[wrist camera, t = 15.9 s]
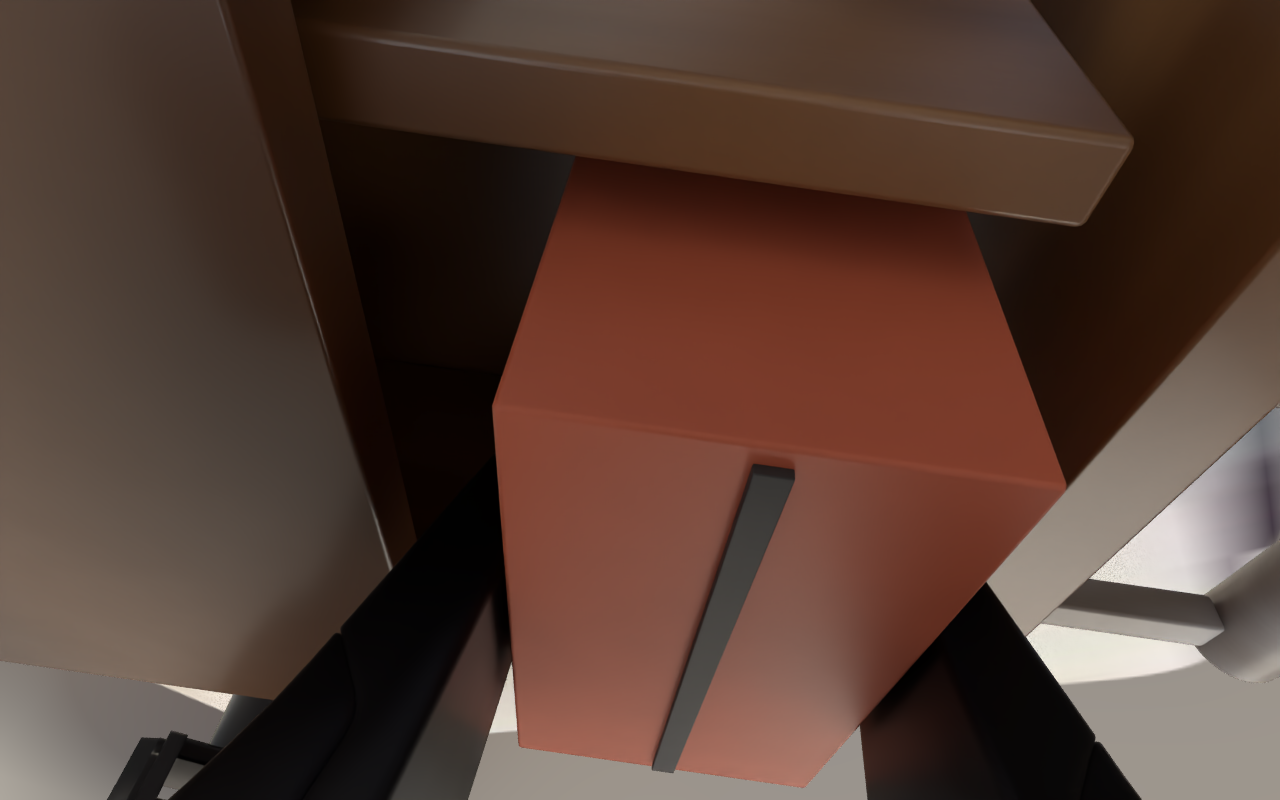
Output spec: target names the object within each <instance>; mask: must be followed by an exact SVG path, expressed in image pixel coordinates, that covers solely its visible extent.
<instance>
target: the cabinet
mask: <svg viewBox="0 0 1280 800" xmlns="http://www.w3.org/2000/svg"><path fill="white" fill-rule="evenodd" d="M416 541H417V538H416V534H415V530H414V525H413V521H412V517H411V513H410V508H409V504H408V500H407V496H406V491H405V487H404V483H403V479H402V474H401V470H400V466H399V461H398V457H397V453H396V449H395V444H394V440H393V436H392V432H391V427H390V423H389V419H388V414H387V410H386V406H385V402H384V397H383V393H382V389H381V385H380V380H379V376H378V372H377V367H376V363H375V359H374V355H373V350H372V346H371V342H370V338H369V333H368V329H367V325H366V320H365V316H364V312H363V308H362V303H361V299H360V295H359V291H358V286H357V282H356V278H355V273H354V269H353V265H352V261H351V256H350V252H349V248H348V244H347V239H346V235H345V231H344V226H343V222H342V218H341V214H340V209H339V205H338V201H337V197H336V192H335V188H334V184H333V179H332V175H331V171H330V167H329V162H328V158H327V154H326V150H325V145H324V141H323V137H322V132H321V128H320V124H319V120H318V115H317V111H316V107H315V103H314V98H313V94H312V90H311V85H310V81H309V77H308V73H307V68H306V64H305V60H304V56H303V51H302V47H301V43H300V38H299V34H298V30H297V26H296V21H295V17H294V13H293V9H292V4H291V0H0V661H5V662H12V663H19V664H26V665H33V666H40V667H47V668H54V669H61V670H68V671H75V672H82V673H89V674H96V675H102V676H109V677H117V678H123V679H130V680H137V681H145V682H151V683H158V684H165V685H172V686H179V687H186V688H193V689H200V690H207V691H214V692H221V693H228V694H235V695H242V696H249V697H256V698H263V699H270V700H274V699H275V698H276V697H277V696H278V695H279V694H280V693H281V691H282V690H283V689H284V688H285V687H286V686H287V685H288V684H289V683H290V682H291V681H292V680H293V679H294V678H295V676H296V675H297V674H298V673H299V672H300V671H301V670H302V669H303V668H304V667H305V666H306V665H307V664H308V663H309V662H310V660H311V659H312V658H313V657H314V656H315V655H316V654H317V653H318V651H319V650H320V649H321V648H322V647H323V646H324V645H325V643H326V642H327V641H328V640H329V639H330V638H331V637H332V636H333V634H335V633H340V634H341V632H340V628H341V626H342V625H343V624H344V622H345V621H346V620H347V619H348V618H349V617H350V616H351V615H352V613H353V612H354V611H355V610H356V609H357V608H358V607H359V606H360V604H361V603H362V602H363V601H364V600H365V599H366V598H367V596H368V595H369V594H370V593H371V592H372V591H373V590H374V589H375V587H376V586H377V585H378V584H379V583H380V582H381V581H382V580H383V578H384V577H385V576H386V575H387V574H388V573H389V572H390V571H391V569H392V568H393V567H394V566H395V565H396V564H397V563H398V562H399V560H400V559H401V558H402V557H403V556H404V555H405V554H406V552H407V551H408V550H409V549H410V548H411V547H412V546H413V545H414V543H415V542H416Z"/></svg>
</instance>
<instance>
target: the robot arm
mask: <svg viewBox="0 0 1280 800" xmlns="http://www.w3.org/2000/svg"><path fill="white" fill-rule="evenodd" d="M340 632H341V634H340V633H335V634H333V636H332V637H331V638H330V639H329V640H328V641H327V642H326V643H325V645H324V646H323V647H322V648H321V649H320V650H319V651H318V653H317V654H316V655H315V656H314V657H313V658H312V659H311V660H310V662H309V663H308V664H307V665H306V666H305V667H304V668H303V669H302V670H301V671H300V672H299V673H298V674H297V675H296V676H295V678H294V679H293V680H292V681H291V682H290V683H289V684H288V685H287V686H286V687H285V688H284V689H283V690H282V691H281V693H280V694H279V695H278V696H277V697H276V698H275V699H274V700H270V699H263V698H256V697H249V696H242V695H235V694H233V695H232V698H231V700H230V702H229V704H228V706H227V708H226V710H225V712H224V714H223V716H222V718H221V720H220V723H219V724H218V726H217V729H216V731H215V733H214V735H213V737H212V739H211V741H210V743H209V744H208V743H204V742H200V741H196V740H193V739H189V738H187V736H188V735H186V734H183V733H179V732H176V731H171V732H170V734H169V736H168V738H167V739H164V738H141V739H140V741H139V743H138V745H137V747H136V748H135V750H134V752H133V754H132V756H131V757H130V760H129V761H128V763H127V765H126V767H125V768H124V770H123V772H122V774H121V776H120V777H119V779H118V781H117V783H116V785H115V786H114V788H113V790H112V792H111V794H110V795H109V797H108V799H107V800H164V799H160V798H157V797H158V795H159V792H160V791H161V788H162V786H164V787H169V788H172V789H177V790H178V791H177V792H176V793H175V794H174V795H173V796H172V797H170V798H169V799H168V800H468V797H469V795H470V791H471V788H472V785H473V781H474V779H475V775H476V772H477V769H478V766H479V763H480V760H481V757H482V753H483V750H484V747H485V744H486V741H487V737H488V735H489V731H490V728H491V725H492V722H493V719H494V716H495V713H496V709H497V706H498V703H499V700H500V697H501V694H502V690H503V687H504V684H505V681H506V678H507V675H508V672H509V668H510V665H511V662H512V655H511V642H510V629H509V616H508V604H507V591H506V578H505V565H504V553H503V540H502V527H501V515H500V502H499V489H498V476H497V464H496V452H495V453H494V454H493V455H492V457H491V458H490V459H489V460H488V461H487V462H486V463H485V464H484V466H483V467H482V468H481V469H480V470H479V471H478V472H477V473H476V475H475V476H474V477H473V478H472V479H471V480H470V481H469V482H468V484H467V485H466V486H465V487H464V488H463V489H462V490H461V492H460V493H459V494H458V495H457V496H456V497H455V498H454V499H453V501H452V502H451V503H450V504H449V505H448V506H447V507H446V508H445V510H444V511H443V512H442V513H441V514H440V515H439V516H438V517H437V519H436V520H435V521H434V522H433V523H432V524H431V525H430V527H429V528H428V529H427V530H426V531H425V532H424V533H423V534H422V536H421V537H420V538H419V539H418V540H417V541H416V542H415V543H414V545H413V546H412V547H411V548H410V549H409V550H408V551H407V552H406V554H405V555H404V556H403V557H402V558H401V559H400V560H399V562H398V563H397V564H396V565H395V566H394V567H393V568H392V569H391V571H390V572H389V573H388V574H387V575H386V576H385V577H384V578H383V580H382V581H381V582H380V583H379V584H378V585H377V586H376V587H375V589H374V590H373V591H372V592H371V593H370V594H369V595H368V596H367V598H366V599H365V600H364V601H363V602H362V603H361V604H360V606H359V607H358V608H357V609H356V610H355V611H354V612H353V613H352V615H351V616H350V617H349V618H348V619H347V620H346V621H345V622H344V624H343V625H342V626H341V628H340ZM860 732H861V741H862V751H863V760H864V770H865V779H866V789H867V799H868V800H1141V798H1140V796H1139V795H1138V794H1137V792H1136V791H1135V790H1134V788H1133V787H1132V786H1131V784H1130V783H1129V782H1128V780H1127V779H1126V778H1125V776H1124V775H1123V773H1122V772H1121V771H1120V769H1119V768H1118V766H1117V765H1116V763H1115V762H1114V761H1113V759H1112V758H1111V756H1110V755H1109V754H1108V752H1107V751H1106V749H1105V748H1104V747H1103V745H1102V744H1101V743H1100V742H1095V734H1094V733H1093V732H1092V730H1091V729H1090V727H1089V726H1088V725H1087V723H1086V722H1085V720H1084V719H1083V717H1082V716H1081V714H1080V713H1079V712H1078V710H1077V709H1076V707H1075V706H1074V705H1073V703H1072V702H1071V700H1070V699H1069V698H1068V696H1067V695H1066V693H1065V692H1064V691H1063V689H1062V688H1061V686H1060V685H1059V683H1058V682H1057V681H1056V679H1055V678H1054V676H1053V675H1052V673H1051V672H1050V671H1049V669H1048V668H1047V666H1046V665H1045V664H1044V662H1043V661H1042V659H1041V658H1040V657H1039V655H1038V654H1037V652H1036V651H1035V649H1034V648H1033V647H1032V645H1031V644H1030V642H1029V641H1028V640H1027V638H1026V637H1025V635H1024V634H1023V633H1022V631H1021V630H1020V628H1019V627H1018V625H1017V624H1016V623H1015V621H1014V620H1013V618H1012V617H1011V616H1010V614H1009V613H1008V611H1007V610H1006V609H1005V607H1004V606H1003V604H1002V603H1001V601H1000V600H999V599H998V597H997V596H996V594H995V593H994V592H993V590H992V589H991V587H990V586H989V584H988V583H987V582H985V584H984V585H983V586H982V587H981V588H980V589H979V590H978V591H977V593H976V594H975V595H974V596H973V597H972V598H971V599H970V601H969V602H968V603H967V604H966V605H965V606H964V607H963V608H962V610H961V611H960V612H959V613H958V614H957V615H956V616H955V618H954V619H953V620H952V621H951V622H950V623H949V624H948V626H947V627H946V628H945V629H944V630H943V631H942V632H941V633H940V635H939V636H938V637H937V638H936V639H935V640H934V641H933V643H932V644H931V645H930V646H929V647H928V648H927V649H926V651H925V652H924V653H923V654H922V655H921V656H920V657H919V658H918V660H917V661H916V662H915V663H914V664H913V665H912V666H911V668H910V669H909V670H908V671H907V672H906V673H905V674H904V675H903V677H902V678H901V679H900V680H899V681H898V682H897V683H896V685H895V686H894V687H893V688H892V689H891V690H890V691H889V693H888V694H887V695H886V696H885V697H884V698H883V699H882V700H881V702H880V703H879V704H878V705H877V706H876V707H875V708H874V710H873V711H872V712H871V713H870V714H869V715H868V716H867V718H866V719H865V720H864V721H863V722H862V723H861V724H860Z"/></svg>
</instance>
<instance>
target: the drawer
mask: <svg viewBox="0 0 1280 800" xmlns="http://www.w3.org/2000/svg"><path fill="white" fill-rule="evenodd" d="M291 4H292V9H293V13H294V17H295V21H296V26H297V30H298V34H299V38H300V43H301V47H302V51H303V56H304V60H305V64H306V68H307V73H308V77H309V81H310V85H311V90H312V94H313V98H314V103H315V107H316V111H317V115H318V120H319V124H320V128H321V132H322V137H323V141H324V145H325V150H326V154H327V158H328V162H329V167H330V171H331V175H332V179H333V184H334V188H335V192H336V197H337V201H338V205H339V209H340V214H341V218H342V222H343V226H344V231H345V235H346V239H347V244H348V248H349V252H350V256H351V261H352V265H353V269H354V273H355V278H356V282H357V286H358V291H359V295H360V299H361V303H362V308H363V312H364V316H365V320H366V325H367V329H368V333H369V338H370V342H371V346H372V350H373V355H374V359H375V363H376V367H377V372H378V376H379V380H380V385H381V389H382V393H383V397H384V402H385V406H386V410H387V414H388V419H389V423H390V427H391V432H392V436H393V440H394V444H395V449H396V453H397V457H398V461H399V466H400V470H401V474H402V479H403V483H404V487H405V491H406V496H407V500H408V504H409V508H410V513H411V517H412V521H413V525H414V530H415V534H416V538H417V540H418V539H419V538H420V537H421V536H422V534H423V533H424V532H425V531H426V530H427V529H428V528H429V527H430V525H431V524H432V523H433V522H434V521H435V520H436V519H437V517H438V516H439V515H440V514H441V513H442V512H443V511H444V510H445V508H446V507H447V506H448V505H449V504H450V503H451V502H452V501H453V499H454V498H455V497H456V496H457V495H458V494H459V493H460V492H461V490H462V489H463V488H464V487H465V486H466V485H467V484H468V482H469V481H470V480H471V479H472V478H473V477H474V476H475V475H476V473H477V472H478V471H479V470H480V469H481V468H482V467H483V466H484V464H485V463H486V462H487V461H488V460H489V459H490V458H491V457H492V455H493V454H494V453H495V452H496V451H495V438H494V426H493V413H492V404H493V401H494V398H495V395H496V392H497V389H498V386H499V383H500V380H501V377H502V374H503V371H504V368H505V365H506V362H507V360H508V357H509V354H510V351H511V348H512V345H513V342H514V339H515V336H516V333H517V330H518V327H519V324H520V321H521V318H522V315H523V312H524V309H525V306H526V303H527V300H528V297H529V294H530V291H531V288H532V285H533V282H534V279H535V276H536V273H537V270H538V267H539V264H540V261H541V258H542V255H543V252H544V249H545V246H546V243H547V240H548V237H549V234H550V231H551V228H552V225H553V222H554V219H555V216H556V213H557V210H558V207H559V204H560V201H561V198H562V195H563V192H564V189H565V186H566V183H567V180H568V177H569V174H570V171H571V168H572V165H573V162H574V159H575V156H580V157H587V158H594V159H601V160H608V161H615V162H622V163H629V164H636V165H643V166H650V167H657V168H664V169H671V170H678V171H685V172H692V173H699V174H706V175H713V176H720V177H727V178H734V179H741V180H748V181H755V182H763V183H770V184H777V185H784V186H791V187H798V188H805V189H812V190H819V191H826V192H833V193H840V194H847V195H854V196H861V197H868V198H875V199H882V200H889V201H896V202H903V203H910V204H917V205H924V206H931V207H938V208H945V209H952V210H959V211H966V213H967V215H968V218H969V221H970V224H971V226H972V229H973V232H974V234H975V237H976V240H977V242H978V245H979V248H980V251H981V253H982V256H983V259H984V261H985V264H986V267H987V270H988V272H989V275H990V278H991V280H992V283H993V286H994V289H995V291H996V294H997V297H998V299H999V302H1000V305H1001V308H1002V310H1003V313H1004V316H1005V318H1006V321H1007V324H1008V327H1009V329H1010V332H1011V335H1012V337H1013V340H1014V343H1015V346H1016V348H1017V351H1018V354H1019V356H1020V359H1021V362H1022V365H1023V367H1024V370H1025V373H1026V375H1027V378H1028V381H1029V383H1030V386H1031V389H1032V392H1033V394H1034V397H1035V400H1036V402H1037V405H1038V408H1039V411H1040V413H1041V416H1042V419H1043V421H1044V424H1045V427H1046V430H1047V432H1048V435H1049V438H1050V440H1051V443H1052V446H1053V449H1054V451H1055V454H1056V457H1057V459H1058V462H1059V465H1060V468H1061V470H1062V473H1063V476H1064V478H1065V481H1066V484H1067V487H1066V491H1065V493H1064V494H1063V495H1062V496H1061V497H1060V498H1059V499H1058V501H1057V502H1056V503H1055V504H1054V505H1053V506H1052V507H1051V509H1050V510H1049V511H1048V512H1047V513H1046V514H1045V515H1044V517H1043V518H1042V519H1041V520H1040V521H1039V522H1038V523H1037V524H1036V526H1035V527H1034V528H1033V529H1032V530H1031V531H1030V532H1029V534H1028V535H1027V536H1026V537H1025V538H1024V539H1023V540H1022V541H1021V543H1020V544H1019V545H1018V546H1017V547H1016V548H1015V549H1014V551H1013V552H1012V553H1011V554H1010V555H1009V556H1008V557H1007V559H1006V560H1005V561H1004V562H1003V563H1002V564H1001V565H1000V566H999V568H998V569H997V570H996V571H995V572H994V573H993V574H992V576H991V577H990V578H989V579H988V580H987V581H986V582H987V583H988V584H989V586H990V587H991V589H992V590H993V592H994V593H995V594H996V596H997V597H998V599H999V600H1000V601H1001V603H1002V604H1003V606H1004V607H1005V609H1006V610H1007V611H1008V613H1009V614H1010V616H1011V617H1012V618H1013V620H1014V621H1015V623H1016V624H1017V625H1018V627H1019V628H1020V630H1021V631H1022V633H1023V634H1024V635H1025V637H1026V636H1027V635H1028V634H1029V633H1030V632H1031V631H1033V630H1034V629H1035V628H1036V627H1037V626H1038V625H1039V624H1040V623H1042V624H1049V625H1056V626H1063V627H1070V628H1077V629H1084V630H1091V631H1098V632H1105V633H1112V634H1119V635H1126V636H1133V637H1140V638H1147V639H1154V640H1161V641H1168V642H1175V643H1182V644H1189V645H1195V647H1196V648H1197V649H1198V651H1199V652H1200V653H1201V654H1202V655H1203V656H1204V657H1205V658H1206V659H1207V660H1208V661H1209V662H1210V663H1212V664H1213V665H1214V666H1215V667H1217V668H1218V669H1219V670H1221V671H1223V672H1224V673H1226V674H1228V675H1230V676H1231V677H1234V678H1236V679H1239V680H1242V681H1245V682H1251V683H1266V682H1269V681H1272V680H1274V679H1276V678H1278V677H1280V540H1278V541H1277V542H1276V543H1274V544H1273V545H1271V546H1270V547H1269V548H1267V549H1266V550H1265V551H1263V552H1262V553H1261V554H1259V555H1258V556H1256V557H1255V558H1254V559H1252V560H1251V561H1250V562H1248V563H1247V564H1246V565H1244V566H1243V567H1242V568H1240V569H1239V570H1237V571H1236V572H1235V573H1233V574H1232V575H1231V576H1229V577H1228V578H1227V579H1225V580H1224V581H1223V582H1221V583H1220V584H1218V585H1217V586H1216V587H1214V588H1213V589H1212V590H1210V591H1209V592H1208V593H1206V594H1205V595H1198V594H1191V593H1184V592H1177V591H1170V590H1163V589H1156V588H1149V587H1142V586H1135V585H1128V584H1121V583H1114V582H1107V581H1100V580H1093V579H1089V578H1090V577H1091V576H1092V575H1093V574H1094V573H1096V572H1097V571H1098V570H1099V569H1100V568H1101V567H1102V566H1103V565H1104V564H1105V563H1106V562H1107V561H1109V560H1110V559H1111V558H1112V557H1113V556H1114V555H1115V554H1116V553H1117V552H1118V551H1119V550H1120V549H1122V548H1123V547H1124V546H1125V545H1126V544H1127V543H1128V542H1129V541H1130V540H1131V539H1132V538H1134V537H1135V536H1136V535H1137V534H1138V533H1139V532H1140V531H1141V530H1142V529H1143V528H1144V527H1145V526H1147V525H1148V524H1149V523H1150V522H1151V521H1152V520H1153V519H1154V518H1155V517H1156V516H1157V515H1158V514H1160V513H1161V512H1162V511H1163V510H1164V509H1165V508H1166V507H1167V506H1168V505H1169V504H1170V503H1171V502H1173V501H1174V500H1175V499H1176V498H1177V497H1178V496H1179V495H1180V494H1181V493H1182V492H1183V491H1185V490H1186V489H1187V488H1188V487H1189V486H1190V485H1191V484H1192V483H1193V482H1194V481H1195V480H1196V479H1198V478H1199V477H1200V476H1201V475H1202V474H1203V473H1204V472H1205V471H1206V470H1207V469H1208V468H1209V467H1211V466H1212V465H1213V464H1214V463H1215V462H1216V461H1217V460H1218V459H1219V458H1220V457H1221V456H1222V455H1224V454H1225V453H1226V452H1227V451H1228V450H1229V449H1230V448H1231V447H1232V446H1233V445H1234V444H1236V443H1237V442H1238V441H1239V440H1240V439H1241V438H1242V437H1243V436H1244V435H1245V434H1246V433H1247V432H1249V431H1250V430H1251V429H1252V428H1253V427H1254V426H1255V425H1256V424H1257V423H1258V422H1259V421H1260V420H1262V419H1263V418H1264V417H1265V416H1266V415H1267V414H1268V413H1269V412H1270V411H1271V410H1272V409H1274V408H1275V407H1277V408H1280V0H291Z"/></svg>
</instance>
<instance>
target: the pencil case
mask: <svg viewBox="0 0 1280 800" xmlns="http://www.w3.org/2000/svg"><path fill="white" fill-rule="evenodd" d="M492 413H493V426H494V438H495V451H496V464H497V476H498V489H499V502H500V515H501V527H502V540H503V553H504V565H505V578H506V591H507V604H508V616H509V629H510V642H511V655H512V667H513V680H514V693H515V705H516V718H517V731H518V743H519V746H520V747H522V748H529V749H536V750H543V751H550V752H557V753H564V754H571V755H578V756H585V757H592V758H599V759H605V760H612V761H620V762H627V763H633V764H640V765H648V766H652V770H654V771H661V772H668V773H674V771H675V770H682V771H689V772H696V773H703V774H710V775H717V776H724V777H731V778H738V779H745V780H752V781H759V782H765V783H772V784H780V785H786V786H793V787H801V788H804V787H806V786H807V785H808V783H809V782H810V781H811V780H812V779H813V777H815V775H816V774H817V773H818V772H819V771H820V770H821V769H822V767H823V766H824V765H825V764H826V763H827V762H828V761H829V759H830V758H831V757H832V756H833V755H834V754H835V753H836V752H837V750H838V749H839V748H840V747H841V746H842V745H843V744H844V742H845V741H846V740H847V739H848V738H849V737H850V736H851V735H852V733H853V732H854V731H855V730H856V729H857V728H858V727H859V725H860V724H861V723H862V722H863V721H864V720H865V719H866V718H867V716H868V715H869V714H870V713H871V712H872V711H873V710H874V708H875V707H876V706H877V705H878V704H879V703H880V702H881V700H882V699H883V698H884V697H885V696H886V695H887V694H888V693H889V691H890V690H891V689H892V688H893V687H894V686H895V685H896V683H897V682H898V681H899V680H900V679H901V678H902V677H903V675H904V674H905V673H906V672H907V671H908V670H909V669H910V668H911V666H912V665H913V664H914V663H915V662H916V661H917V660H918V658H919V657H920V656H921V655H922V654H923V653H924V652H925V651H926V649H927V648H928V647H929V646H930V645H931V644H932V643H933V641H934V640H935V639H936V638H937V637H938V636H939V635H940V633H941V632H942V631H943V630H944V629H945V628H946V627H947V626H948V624H949V623H950V622H951V621H952V620H953V619H954V618H955V616H956V615H957V614H958V613H959V612H960V611H961V610H962V608H963V607H964V606H965V605H966V604H967V603H968V602H969V601H970V599H971V598H972V597H973V596H974V595H975V594H976V593H977V591H978V590H979V589H980V588H981V587H982V586H983V585H984V584H985V582H986V581H987V580H988V579H989V578H990V577H991V576H992V574H993V573H994V572H995V571H996V570H997V569H998V568H999V566H1000V565H1001V564H1002V563H1003V562H1004V561H1005V560H1006V559H1007V557H1008V556H1009V555H1010V554H1011V553H1012V552H1013V551H1014V549H1015V548H1016V547H1017V546H1018V545H1019V544H1020V543H1021V541H1022V540H1023V539H1024V538H1025V537H1026V536H1027V535H1028V534H1029V532H1030V531H1031V530H1032V529H1033V528H1034V527H1035V526H1036V524H1037V523H1038V522H1039V521H1040V520H1041V519H1042V518H1043V517H1044V515H1045V514H1046V513H1047V512H1048V511H1049V510H1050V509H1051V507H1052V506H1053V505H1054V504H1055V503H1056V502H1057V501H1058V499H1059V498H1060V497H1061V496H1062V495H1063V494H1064V493H1065V491H1066V487H1067V484H1066V481H1065V478H1064V476H1063V473H1062V470H1061V468H1060V465H1059V462H1058V459H1057V457H1056V454H1055V451H1054V449H1053V446H1052V443H1051V440H1050V438H1049V435H1048V432H1047V430H1046V427H1045V424H1044V421H1043V419H1042V416H1041V413H1040V411H1039V408H1038V405H1037V402H1036V400H1035V397H1034V394H1033V392H1032V389H1031V386H1030V383H1029V381H1028V378H1027V375H1026V373H1025V370H1024V367H1023V365H1022V362H1021V359H1020V356H1019V354H1018V351H1017V348H1016V346H1015V343H1014V340H1013V337H1012V335H1011V332H1010V329H1009V327H1008V324H1007V321H1006V318H1005V316H1004V313H1003V310H1002V308H1001V305H1000V302H999V299H998V297H997V294H996V291H995V289H994V286H993V283H992V280H991V278H990V275H989V272H988V270H987V267H986V264H985V261H984V259H983V256H982V253H981V251H980V248H979V245H978V242H977V240H976V237H975V234H974V232H973V229H972V226H971V224H970V221H969V218H968V215H967V213H966V211H959V210H952V209H945V208H938V207H931V206H924V205H917V204H910V203H903V202H896V201H889V200H882V199H875V198H868V197H861V196H854V195H847V194H840V193H833V192H826V191H819V190H812V189H805V188H798V187H791V186H784V185H777V184H770V183H763V182H755V181H748V180H741V179H734V178H727V177H720V176H713V175H706V174H699V173H692V172H685V171H678V170H671V169H664V168H657V167H650V166H643V165H636V164H629V163H622V162H615V161H608V160H601V159H594V158H587V157H580V156H575V159H574V162H573V165H572V168H571V171H570V174H569V177H568V180H567V183H566V186H565V189H564V192H563V195H562V198H561V201H560V204H559V207H558V210H557V213H556V216H555V219H554V222H553V225H552V228H551V231H550V234H549V237H548V240H547V243H546V246H545V249H544V252H543V255H542V258H541V261H540V264H539V267H538V270H537V273H536V276H535V279H534V282H533V285H532V288H531V291H530V294H529V297H528V300H527V303H526V306H525V309H524V312H523V315H522V318H521V321H520V324H519V327H518V330H517V333H516V336H515V339H514V342H513V345H512V348H511V351H510V354H509V357H508V360H507V362H506V365H505V368H504V371H503V374H502V377H501V380H500V383H499V386H498V389H497V392H496V395H495V398H494V401H493V404H492Z"/></svg>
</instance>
